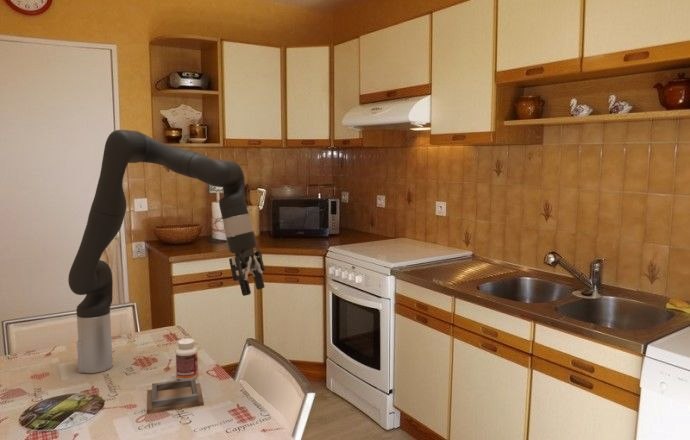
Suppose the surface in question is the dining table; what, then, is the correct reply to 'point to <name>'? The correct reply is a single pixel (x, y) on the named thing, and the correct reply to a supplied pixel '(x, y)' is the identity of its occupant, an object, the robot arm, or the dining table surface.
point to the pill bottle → (186, 360)
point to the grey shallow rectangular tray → (174, 395)
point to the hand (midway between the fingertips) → (254, 291)
